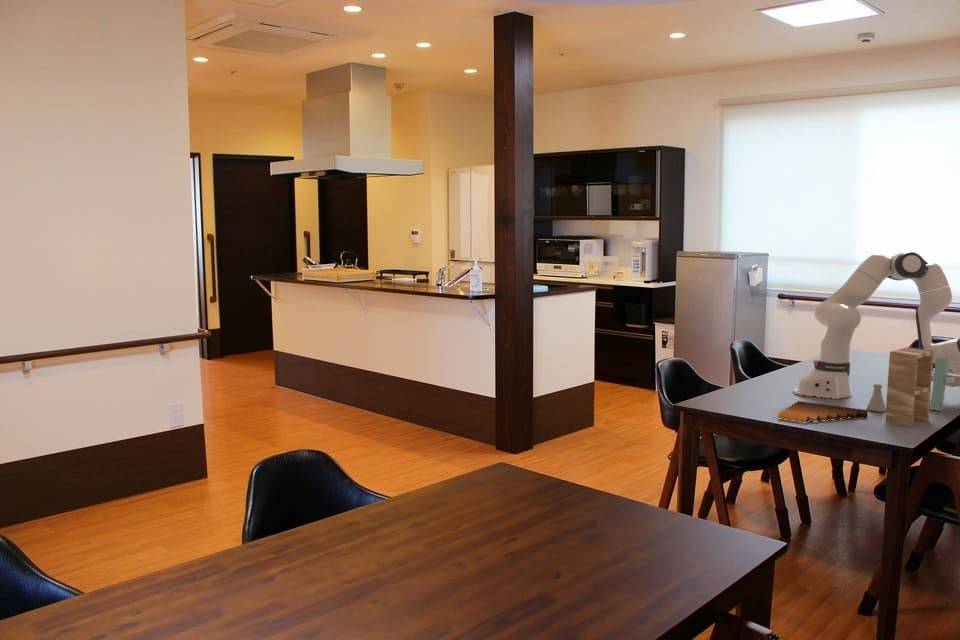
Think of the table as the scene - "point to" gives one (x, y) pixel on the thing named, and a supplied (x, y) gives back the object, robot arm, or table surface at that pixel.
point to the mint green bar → (939, 384)
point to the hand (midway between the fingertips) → (938, 379)
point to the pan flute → (819, 412)
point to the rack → (909, 386)
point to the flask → (876, 400)
